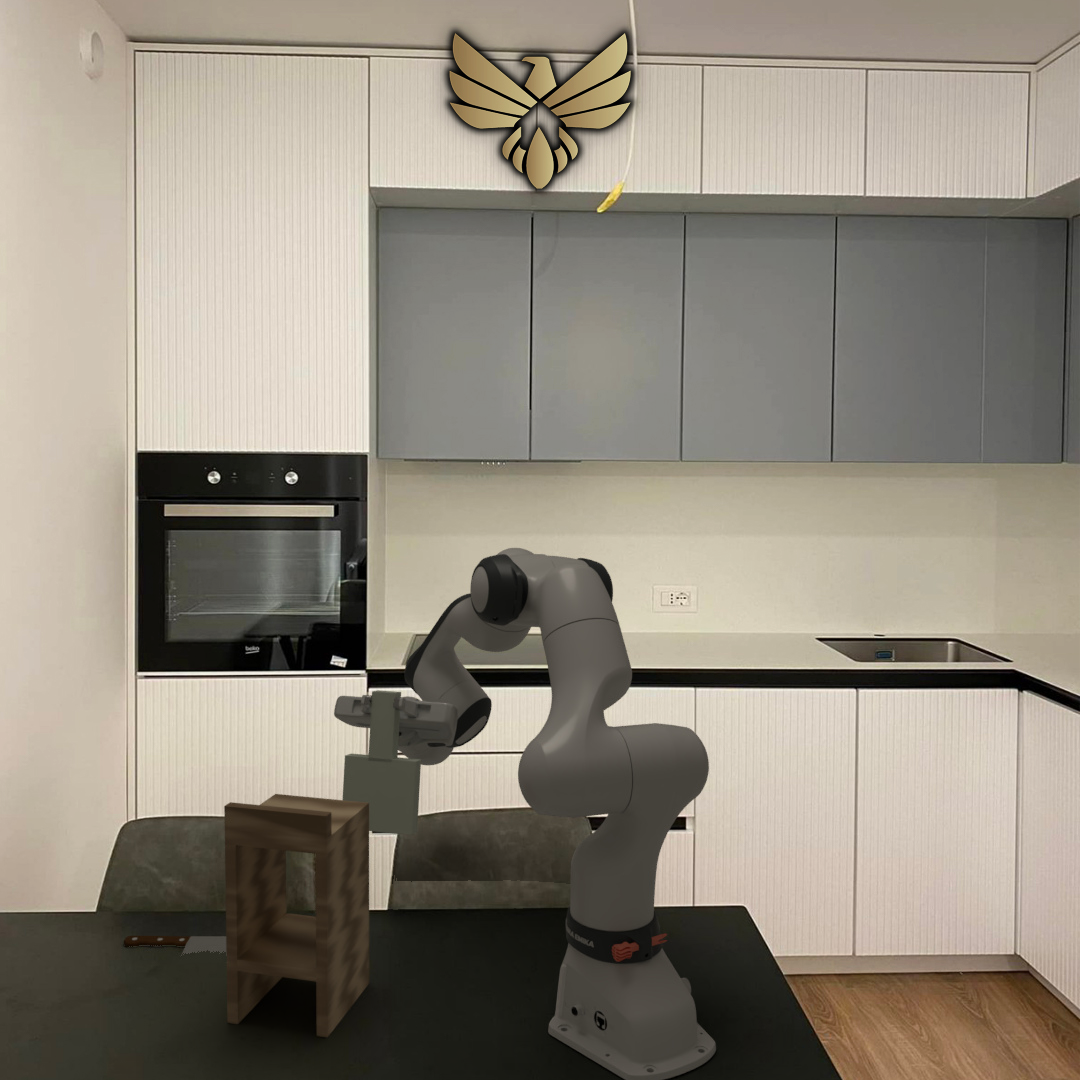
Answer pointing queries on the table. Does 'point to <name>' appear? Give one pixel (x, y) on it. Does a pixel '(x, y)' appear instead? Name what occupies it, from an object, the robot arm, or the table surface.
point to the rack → (289, 939)
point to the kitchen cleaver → (181, 942)
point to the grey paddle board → (384, 773)
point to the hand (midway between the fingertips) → (381, 700)
